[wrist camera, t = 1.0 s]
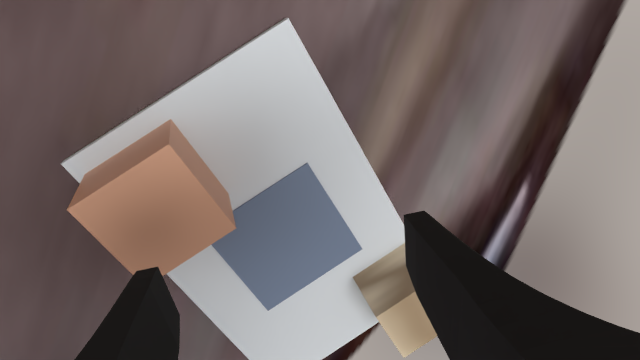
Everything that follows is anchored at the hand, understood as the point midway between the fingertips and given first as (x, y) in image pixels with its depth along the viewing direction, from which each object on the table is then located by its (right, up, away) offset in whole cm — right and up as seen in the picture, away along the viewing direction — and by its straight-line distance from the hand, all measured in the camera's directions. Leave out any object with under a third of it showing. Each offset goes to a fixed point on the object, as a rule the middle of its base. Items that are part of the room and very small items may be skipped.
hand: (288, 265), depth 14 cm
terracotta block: (-7, +2, +10) cm, 13 cm away
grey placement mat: (-1, 0, +14) cm, 14 cm away
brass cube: (+6, -4, +17) cm, 18 cm away
